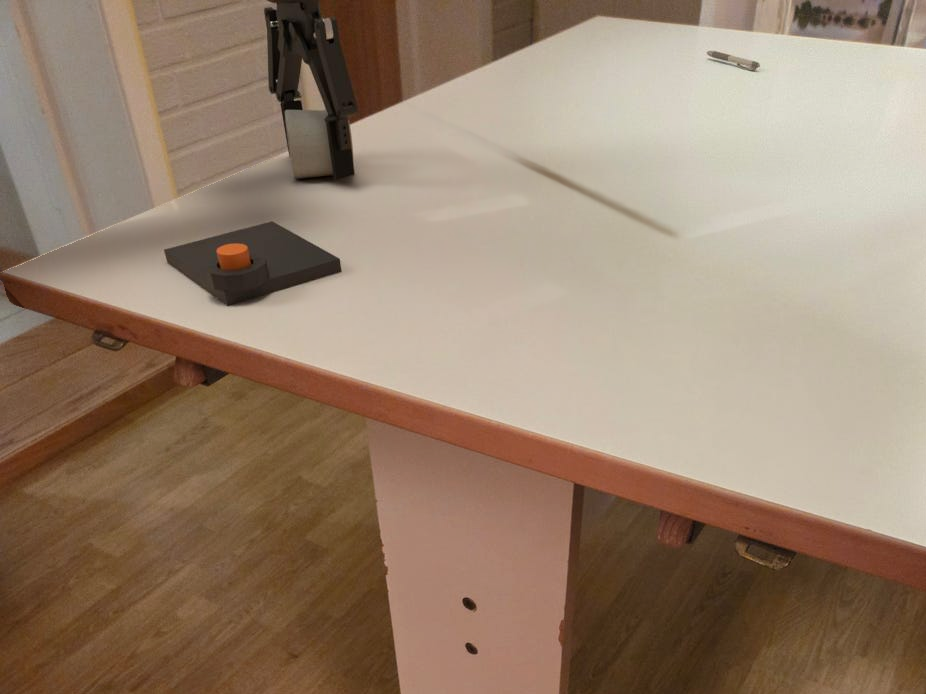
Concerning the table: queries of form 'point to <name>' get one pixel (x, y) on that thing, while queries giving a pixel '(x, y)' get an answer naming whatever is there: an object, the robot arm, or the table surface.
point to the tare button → (233, 257)
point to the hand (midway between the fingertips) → (321, 166)
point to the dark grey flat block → (253, 263)
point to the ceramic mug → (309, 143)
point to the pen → (735, 60)
